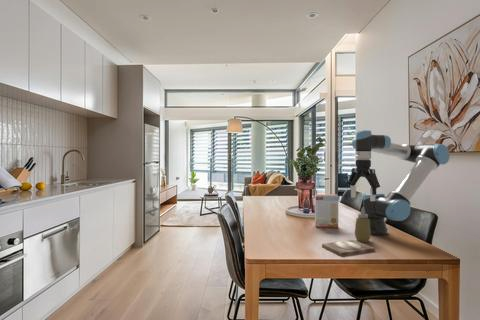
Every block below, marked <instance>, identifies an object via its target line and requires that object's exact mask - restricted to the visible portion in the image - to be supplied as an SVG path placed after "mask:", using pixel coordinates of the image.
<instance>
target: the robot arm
mask: <svg viewBox="0 0 480 320" xmlns="http://www.w3.org/2000/svg"><path fill="white" fill-rule="evenodd" d="M355 135H356V136H355V137H354V138H353V139H352V140H351V146H352V147H353V149H354V150H355V167H352V169H351V172H350V175H349V177H348V178H349V179H348V181H347V184H348V185H349V186H350V198H352V199H353V198H356V197H357V185H356V184H357V182H358V181H359V179H360V178H365V179H366V180H367V182H368V184H369V186H370V187H371V188H369V189H370V190H369V191H370V192H369V193H365V194H363V200H362V207H364V209H365V214H367V215H368V219H369V220H370V230H371V236H373V235H375V236H383V235H384V236H386V235H388V234H389V231H388V227H387V224H386V220H385V219H388V220H391V221H398V222H401V221H404V220H406V219H407V218H408V217H409V215H410V214H411V210H412V209H411V207H412V206H411V201H410V200H411V199H412V198H413V196H414V195H415V194H416V192H417V191H418V189H419V188H420V187H421V185H422V184H423V183H424V182H425V180H426V179H427V177H428V176H429V175H430V174H431V172H432V171H436V170H437V169H438V167H440V165H446V164H447V163H449V161H450V156H451V155H450V151H449V148H448V147H447V146H446V145H445V144H443V143H430V144H427V143H426V144H406V143H405V144H398V143H394V142H392V139H391V138H390V136H388V135H385V134H372V131H371V130H366V129H365V130H364V129H362V130H358V131H357V132H356V133H355ZM372 152H373V153H378V154H382V155H386V156H391V157H396V158H398V159H400V160H403V161H407V162H410V163H414V165H413V167H412V168H411V169H410V171H409V172H408V173H407V175H406V176H405V177H404V178H403V180H401V182H400V184H399V185H398V187H397V188H396V189H395V191H394V190H393V191H390V192H389V193H388V194H387V196H386V195H385V193H377V189H378V188H381V185H380V182H379V179H378V176H377V174H376V169H375V168H371V166H372V161H371V159H372Z"/></svg>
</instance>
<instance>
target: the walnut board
mask: <svg viewBox="0 0 480 320" xmlns="http://www.w3.org/2000/svg"><path fill="white" fill-rule="evenodd" d="M321 247H322V248H324V249H325V250H327V251H330V252H332V253H333V254H336V255H338V256H340V257H344V256H350V255H358V254H365V253H373V252H376V248H375V247H374V246H370V245H368V244H365V243H364V242H360V241H357V240H355V239H351V240H349V239H348V240H342V241H334V242H325V243H322V244H321Z"/></svg>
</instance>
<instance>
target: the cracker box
mask: <svg viewBox="0 0 480 320" xmlns="http://www.w3.org/2000/svg"><path fill="white" fill-rule="evenodd" d="M314 227H315V228H324V229H325V228H327V229H329V228H332V229H338V228H339V195H338V194H336V193H331V194H330V193H329V194H328V193H315V194H314Z"/></svg>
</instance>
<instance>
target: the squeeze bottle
mask: <svg viewBox="0 0 480 320" xmlns="http://www.w3.org/2000/svg"><path fill="white" fill-rule="evenodd" d="M357 216H358V217H357V218H356V219H355V226H354V227H355V229H354V236H355V239H356V241H358V242H361V243H368V242H369V241H370V238H371V236H372V234H371V230H370V220H369V219H368V215H367V214H365V209H364V207H363V206H362V207H361V210H360V212H359V213H358V215H357Z"/></svg>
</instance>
